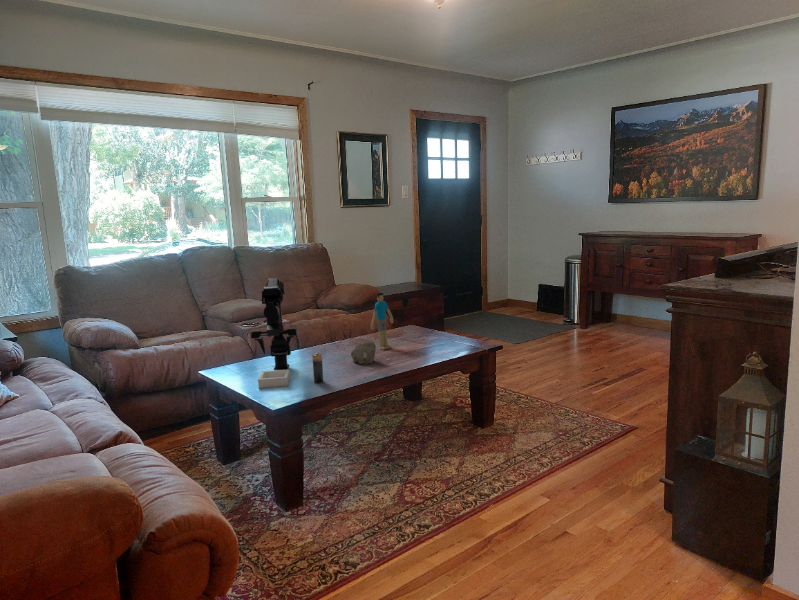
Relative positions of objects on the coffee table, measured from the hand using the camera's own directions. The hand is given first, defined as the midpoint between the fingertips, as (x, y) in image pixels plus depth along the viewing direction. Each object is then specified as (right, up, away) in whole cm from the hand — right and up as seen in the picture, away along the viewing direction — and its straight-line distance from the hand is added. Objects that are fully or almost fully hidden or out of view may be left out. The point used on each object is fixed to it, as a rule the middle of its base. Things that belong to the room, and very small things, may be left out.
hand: (275, 353), depth 230 cm
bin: (-2, -14, +6) cm, 15 cm away
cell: (+18, -13, +5) cm, 22 cm away
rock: (+36, -8, +33) cm, 49 cm away
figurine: (+45, -4, +57) cm, 73 cm away
